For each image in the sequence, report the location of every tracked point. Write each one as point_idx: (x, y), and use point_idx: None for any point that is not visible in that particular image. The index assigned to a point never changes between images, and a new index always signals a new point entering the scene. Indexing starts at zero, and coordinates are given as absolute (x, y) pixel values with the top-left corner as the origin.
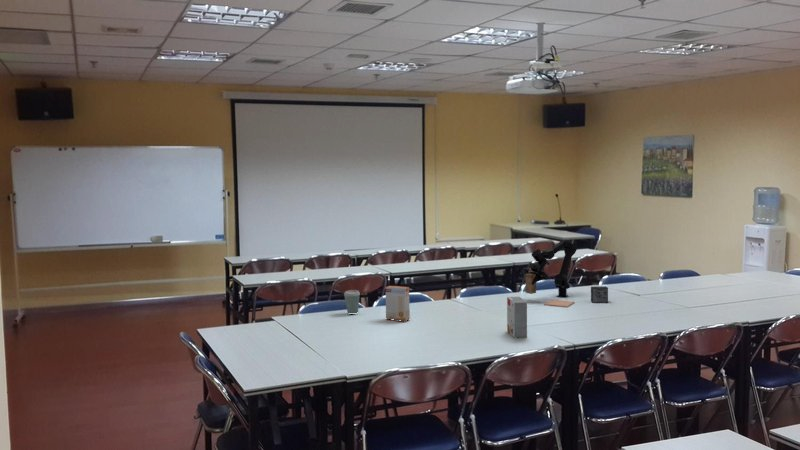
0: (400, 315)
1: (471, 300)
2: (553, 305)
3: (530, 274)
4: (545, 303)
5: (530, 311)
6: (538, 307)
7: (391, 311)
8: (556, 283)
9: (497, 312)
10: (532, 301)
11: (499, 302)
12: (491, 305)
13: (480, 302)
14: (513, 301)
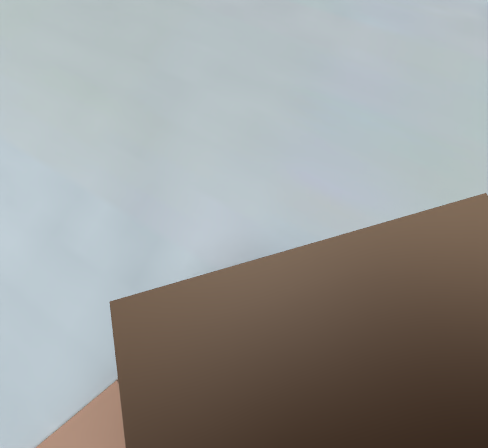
0: None
1: (464, 14)
2: (42, 443)
3: (293, 382)
4: (120, 403)
5: (25, 172)
6: (86, 286)
7: None
8: None
9: (115, 19)
10: None
11: (356, 124)
12: (286, 53)
13: (391, 34)
14: None
